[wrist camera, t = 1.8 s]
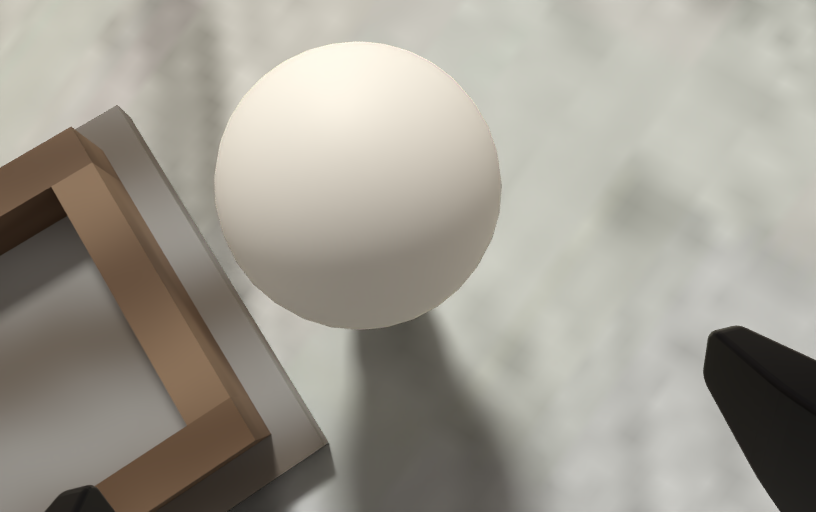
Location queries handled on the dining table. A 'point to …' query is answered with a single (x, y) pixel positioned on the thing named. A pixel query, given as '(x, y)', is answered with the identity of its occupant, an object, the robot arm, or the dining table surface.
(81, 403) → the socket holder
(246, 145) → the lightbulb
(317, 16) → the dining table surface
